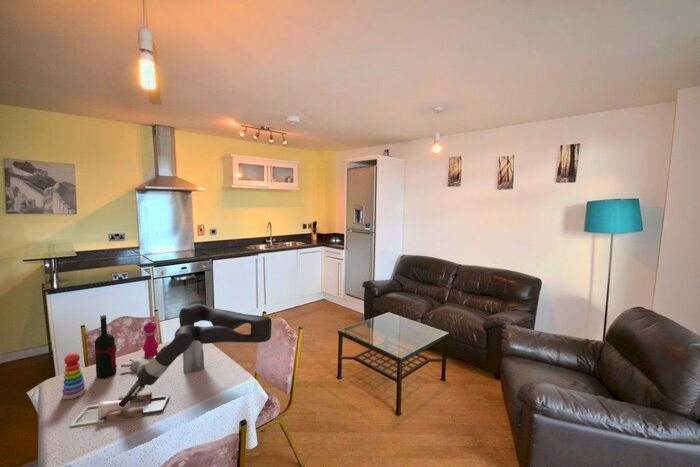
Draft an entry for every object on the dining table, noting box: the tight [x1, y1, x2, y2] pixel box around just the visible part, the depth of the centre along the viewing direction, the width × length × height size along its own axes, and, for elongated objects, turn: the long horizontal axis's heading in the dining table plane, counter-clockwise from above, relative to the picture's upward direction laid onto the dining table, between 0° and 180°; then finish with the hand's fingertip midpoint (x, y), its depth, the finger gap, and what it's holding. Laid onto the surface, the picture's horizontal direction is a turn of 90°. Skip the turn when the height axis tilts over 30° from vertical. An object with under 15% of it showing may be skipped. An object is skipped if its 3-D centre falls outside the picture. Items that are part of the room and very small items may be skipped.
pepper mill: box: [142, 319, 159, 359], centre depth 174 cm, size 7×7×20 cm
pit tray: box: [143, 394, 170, 416], centre depth 131 cm, size 7×10×1 cm
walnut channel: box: [105, 391, 153, 423], centre depth 129 cm, size 12×12×3 cm
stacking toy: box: [61, 352, 87, 400], centre depth 137 cm, size 8×8×19 cm
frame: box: [68, 403, 106, 428], centre depth 125 cm, size 11×12×1 cm
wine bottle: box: [94, 314, 118, 380], centre depth 152 cm, size 8×10×30 cm
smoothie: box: [84, 399, 131, 420], centre depth 125 cm, size 6×6×14 cm
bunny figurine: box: [120, 357, 152, 373], centre depth 160 cm, size 10×5×15 cm
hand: (121, 405), depth 124 cm, fingers closed
